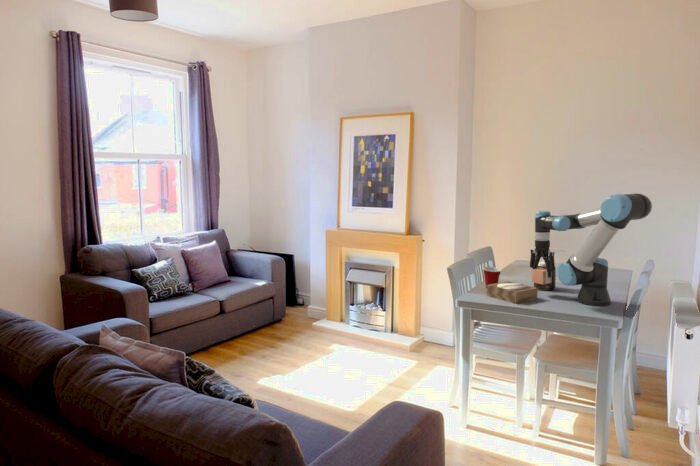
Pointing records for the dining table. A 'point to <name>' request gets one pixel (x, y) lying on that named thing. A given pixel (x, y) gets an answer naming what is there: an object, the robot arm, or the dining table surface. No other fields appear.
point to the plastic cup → (491, 275)
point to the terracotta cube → (540, 276)
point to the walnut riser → (512, 292)
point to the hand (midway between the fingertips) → (541, 281)
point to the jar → (550, 285)
